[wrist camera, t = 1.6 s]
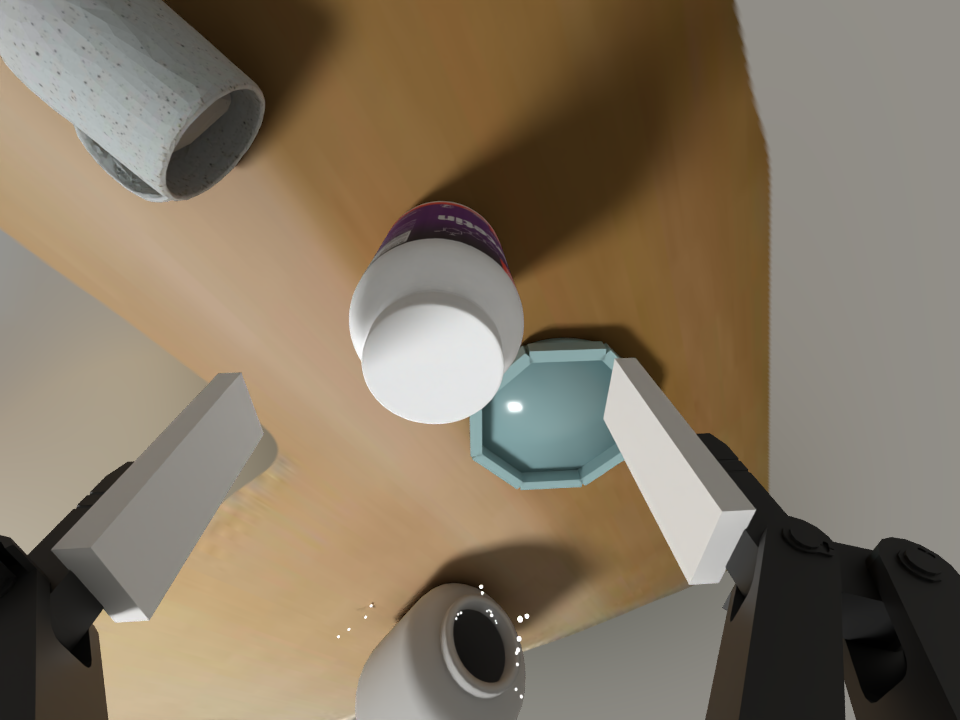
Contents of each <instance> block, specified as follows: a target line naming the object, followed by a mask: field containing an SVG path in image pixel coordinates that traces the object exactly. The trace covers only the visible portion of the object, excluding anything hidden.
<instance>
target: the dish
mask: <svg viewBox="0 0 960 720" xmlns="http://www.w3.org/2000/svg"><path fill="white" fill-rule="evenodd" d="M615 358H621V357H620V356H619V355H618V354H617V353H616V352H614V351H613V350H612V349H611V348H610V347H609V345H608V344H607V343H605V344H603V343H602V341H589V340H585V339H579V338H552V339H546V340H541V341H537V342H534V343H531V344H527V345H525V346H522V347H520V348H519V351H518V353H517V356H516V358H515V359H514V361H513V363H512V364H511V366H510V367H509V368H508V370H507V371H506V372H505V373H504V374H503V379H502V382H501V384H500V387H499V389H498V391H497V392H496V394H495V395H494V397H493V398H492V400H491V401H490V402H489V403H488V404H487V405H486V406H484V407H483V408H482V409H481V410H479V411H478V412H476V413H475V414H473V415H471V416H469V420H470V452H471V457H472V459H473V460H474V461H476V462H477V463H479V464H480V465H482V466H483V467H485V468H486V469H488V470H489V471H491V472H492V473H494V474H495V475H497V476H498V477H500V478H501V479H503V480H504V481H506V482H507V483H509V484H510V485H512V486H513V487H515V488H516V489H518V488H519V487H520V489H521V490H530V489H550V488H569V487H582V483H583V484H584V485H585V486H586V485H587V484H589V483H590V482H592V481H593V480H595V479H596V478H598V477H599V476H601V475H602V474H604V473H605V472H607V471H608V470H610V469H611V468H613V467H614V466H616V465H617V464H619V463H620V462H622V461H623V460H624V458H623V456H622V454H621V452H620V450H619V448H618V446H617V444H616V442H615V440H614V438H613V436H612V435H611V433H610V431H609V429H608V427H607V425H606V423H605V421H604V419H603V418H604V412H605V407H606V402H607V396H608V391H609V386H610V381H611V375H612V370H613V365H614V359H615Z"/></svg>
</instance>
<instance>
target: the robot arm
mask: <svg viewBox="0 0 960 720" xmlns="http://www.w3.org/2000/svg"><path fill="white" fill-rule="evenodd" d="M603 419H604V421H605V423H606V425H607V427H608V429H609V431H610V433H611V435H612V436H613V438H614V440H615V442H616V444H617V446H618V448H619V450H620V452H621V454H622V456H623V458H624V460H625V462H626V464H627V465H628V467H629V469H630V471H631V473H632V475H633V477H634V479H635V481H636V483H637V485H638V487H639V489H640V491H641V492H642V494H643V496H644V498H645V500H646V502H647V504H648V506H649V508H650V510H651V512H652V514H653V516H654V518H655V520H656V521H657V523H658V525H659V527H660V529H661V531H662V533H663V535H664V537H665V539H666V541H667V543H668V545H669V547H670V548H671V550H672V552H673V554H674V556H675V558H676V560H677V562H678V564H679V566H680V568H681V570H682V572H683V574H684V576H685V577H686V579H687V581H688V583H689V585H694V584H709V583H719V581H720V579H721V578H722V575H723V574H724V572H725V570H726V569H727V570H728V572H729V573H730V575H731V577H732V578H733V580H734V582H735V585H734V587H733V589H732V591H731V593H730V595H729V596H728V598H727V600H726V602H725V604H724V606H723V607H722V608H723V609H725V610H728V611H727V616H726V621H725V626H724V631H723V635H722V640H721V645H720V650H719V655H718V660H717V665H716V670H715V675H714V679H713V684H712V689H711V695H710V699H709V704H708V710H707V714H706V719H705V720H845V695H844V681H845V684H846V687H847V690H848V694H849V697H850V700H851V704H852V707H853V711H854V714H855V717H856V720H960V575H959V574H958V573H957V571H956V570H955V569H954V568H953V567H952V566H951V565H950V564H949V563H948V562H946V561H945V560H944V559H942V558H941V557H940V556H939V555H937V554H936V553H934V552H932V551H930V550H929V549H927V548H925V547H923V546H921V545H919V544H916V543H914V542H911V541H908V540H906V539H900V538H893V537H890V538H886V539H882V540H881V541H880V542H879V544H878V545H877V546H876V547H875V549H874V550H869V549H864V548H860V547H855V546H850V545H845V544H841V543H836V542H833V541H832V540H831V539H830V538H829V537H828V536H827V535H826V534H825V533H823V532H822V531H821V530H820V529H818V528H817V527H815V526H813V525H811V524H810V523H808V522H806V521H804V520H801V519H797V518H794V517H790V516H788V515H787V514H786V513H785V512H784V511H783V510H782V509H781V507H780V506H779V505H778V504H777V503H776V502H775V500H774V499H773V498H772V497H771V496H770V495H769V493H768V492H767V491H766V490H765V489H764V488H763V486H762V485H761V484H760V483H759V482H758V481H757V479H756V478H755V477H754V476H753V475H752V474H751V473H749V472H748V469H747V468H746V467H745V466H744V464H743V463H742V462H741V461H739V460H738V457H737V456H736V455H735V454H734V453H733V452H732V451H731V449H730V448H729V447H728V446H727V445H726V444H725V443H723V442H722V441H720V440H719V439H717V438H716V437H714V436H713V435H711V434H710V433H705V434H696V433H695V432H694V431H693V430H692V428H691V427H690V426H689V424H688V423H687V422H686V421H685V419H684V418H683V417H682V416H681V414H680V413H679V412H678V411H677V409H676V408H675V407H674V406H673V404H672V403H671V402H670V401H669V399H668V398H667V397H666V396H665V394H664V393H663V392H662V391H661V389H660V388H659V387H658V385H657V384H656V383H655V382H654V380H653V379H652V378H651V377H650V375H649V374H648V373H647V372H646V370H645V369H644V368H643V367H642V365H641V364H640V363H639V362H638V360H637V359H636V358H615V359H614V365H613V370H612V375H611V381H610V386H609V391H608V396H607V402H606V407H605V412H604V418H603ZM263 434H264V433H263V431H262V428H261V425H260V422H259V419H258V417H257V414H256V411H255V409H254V406H253V403H252V400H251V398H250V395H249V392H248V389H247V387H246V384H245V381H244V379H243V376H242V373H218V374H217V375H216V376H215V377H214V378H213V380H212V381H211V382H210V383H209V384H208V385H207V386H206V387H205V388H204V389H203V390H202V391H201V392H200V393H199V394H198V395H197V396H196V398H195V399H194V400H193V401H192V402H191V403H190V404H189V405H188V406H187V407H186V408H185V409H184V410H183V411H182V412H181V413H180V414H179V415H178V417H176V418H175V420H174V421H173V422H172V423H171V424H170V425H169V426H168V427H167V428H166V429H165V430H164V431H163V432H162V433H161V434H160V435H159V436H158V437H157V439H156V440H155V441H154V442H153V443H152V444H151V445H150V446H149V447H148V448H147V449H146V450H145V451H144V452H143V453H142V454H141V455H140V456H139V457H138V458H137V460H136V461H135V462H127V463H125V464H124V465H122V466H121V467H119V468H118V469H116V470H115V471H113V472H112V473H110V474H109V475H107V476H106V477H105V478H104V479H103V480H102V481H101V482H100V483H99V484H98V485H97V486H96V487H95V488H94V489H93V490H92V491H91V492H90V495H87V496H86V497H85V498H84V499H83V500H82V501H81V502H80V503H79V504H78V505H77V508H76V509H73V510H72V511H71V512H70V513H69V514H68V515H67V516H66V517H65V518H64V519H63V520H62V521H61V522H60V523H59V524H58V525H57V526H56V527H55V528H54V529H53V530H52V531H51V532H50V533H49V534H48V535H47V536H46V537H45V538H44V539H43V540H42V541H41V542H40V543H39V544H38V545H37V546H36V547H35V548H34V549H33V550H32V551H31V552H30V553H29V554H28V555H26V554H25V553H24V551H23V550H22V549H21V548H20V547H19V546H18V545H17V544H16V543H15V542H14V541H13V540H12V539H11V538H9V537H6V536H1V535H0V720H108V713H107V704H106V696H105V687H104V678H103V669H102V660H101V652H100V643H99V634H98V632H97V630H96V628H95V626H94V625H93V622H94V621H95V619H96V618H97V617H98V615H99V614H100V613H101V611H102V610H103V609H104V610H105V611H106V612H107V614H108V615H109V616H110V617H111V618H112V619H113V620H114V621H115V623H117V622H132V621H147V620H150V618H151V617H152V615H153V613H154V612H155V610H156V609H157V607H158V605H159V604H160V602H161V600H162V599H163V597H164V596H165V594H166V592H167V591H168V589H169V587H170V586H171V584H172V582H173V581H174V579H175V578H176V576H177V574H178V573H179V571H180V569H181V568H182V566H183V565H184V563H185V561H186V560H187V558H188V556H189V555H190V553H191V552H192V550H193V548H194V547H195V545H196V543H197V542H198V540H199V539H200V537H201V535H202V534H203V532H204V530H205V529H206V527H207V526H208V524H209V522H210V521H211V519H212V517H213V516H214V514H215V513H216V511H217V509H218V508H219V506H220V504H221V503H222V501H223V499H224V498H225V496H226V495H227V493H228V491H229V490H230V488H231V486H232V485H233V483H234V482H235V480H236V478H237V477H238V475H239V473H240V472H241V470H242V469H243V467H244V465H245V464H246V462H247V460H248V459H249V457H250V455H251V454H252V452H253V451H254V449H255V447H256V446H257V444H258V442H259V441H260V439H261V438H262V436H263Z"/></svg>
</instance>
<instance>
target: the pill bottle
mask: <svg viewBox="0 0 960 720" xmlns="http://www.w3.org/2000/svg"><path fill="white" fill-rule="evenodd" d="M349 327H350V334H351V338H352V342H353V345H354V348H355V350H356V352H357V354H358V356H359V358H360V360H361V361H362V371H363V375H364V379H365V381H366V384H367V386H368V388H369V390H370V391H371V393H372V394H373V395H374V397H375V398H376V399H377V400H378V401H379V402H380V403H381V404H382V405H383V406H384V407H385V408H387V409H388V410H389V411H391V412H393V413H394V414H396V415H398V416H400V417H402V418H405V419H408V420H411V421H414V422H419V423H426V424H444V423H451V422H455V421H459V420H462V419H464V418H467V417H469V416H471V415H473V414H475V413H476V412H478V411H479V410H481V409H482V408H483V407H484V406H486V405H487V404H488V403H489V402H490V401H491V400H492V398H493V397H494V395H495V394H496V392H497V391H498V389H499V387H500V384H501V382H502V379H503V374H504V373H505V372H506V371H507V370H508V368H509V367H510V366H511V364H512V363H513V361H514V359H515V358H516V356H517V353H518V351H519V348H520V345H521V342H522V337H523V330H524V316H523V309H522V304H521V301H520V297H519V294H518V292H517V289H516V286H515V284H514V281H513V278H512V276H511V273H510V270H509V267H508V264H507V262H506V259H505V256H504V253H503V250H502V247H501V244H500V241H499V239H498V237H497V235H496V233H495V231H494V230H493V228H492V227H491V225H490V224H489V223H488V222H487V221H486V220H485V219H484V218H483V217H482V216H481V215H480V214H478V213H477V212H476V211H474V210H472V209H471V208H469V207H467V206H464V205H462V204H459V203H455V202H449V201H434V202H428V203H424V204H421V205H418V206H416V207H414V208H412V209H411V210H409V211H407V212H406V213H405V214H404V215H402V216H401V217H400V218H399V219H398V220H397V222H396V223H395V224H394V225H393V227H392V228H391V229H390V231H389V233H388V235H387V237H386V238H385V240H384V241H383V243H382V245H381V247H380V248H379V250H378V251H377V253H376V255H375V257H374V258H373V260H372V262H371V263H370V265H369V266H368V268H367V270H366V271H365V273H364V274H363V276H362V278H361V280H360V281H359V283H358V285H357V287H356V289H355V292H354V294H353V297H352V301H351V305H350V312H349Z"/></svg>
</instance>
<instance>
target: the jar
mask: <svg viewBox="0 0 960 720" xmlns="http://www.w3.org/2000/svg"><path fill="white" fill-rule="evenodd" d="M479 588H480V589H482V588H483V585H480V586H479ZM370 607H372V604H371V605H370ZM364 618H367V616H365V617H364ZM525 618H526V619H528V618H529V614H525ZM517 620H518V622H522V621H523V618H522V616H518V618H517ZM348 631H350V628H348ZM339 637H340V636H339V635H338V636H337V638H339ZM520 641H521V637H520V636H518V635H517V632H516V630H515V627H514V625H513V623H512V621H511V619H510V618H509V616H508V615H507V613H506V612H505V611H504V610H503V609H502V607H501V606H500V605H499V604H497V603H496V602H495V600H493V599H492V598H491V597H490V596H488V595H487V594H486V593H484V592H483V591H481V590H479V589H477V588H475V587H472V586H469V585H465V584H459V583H449V584H443V585H440V586H438V587H435V588H433V589H432V590H431V591H429V592H428V593H427V594H425V595H424V596H423V597H421V598H420V599H419V600H418V601H417V602H416V604H415V605H414V606H413V607H412V608H411V609H410V610H409V611H408V612H407V613H406V614H405V616H404V617H403V618H402V619H401V620H400V621H399V622H398V623H397V624H396V625H395V626H394V628H393V629H392V630H391V631H390V632H389V633H388V634H387V635H386V636H385V637H384V638H383V640H382V641H381V642H380V643H379V644H378V645H377V646H376V648H375V649H374V650H373V651H372V653H371V655H370V657H369V658H368V660H367V662H366V663H365V665H364V667H363V670H362V673H361V676H360V678H359V682H358V687H357V692H356V705H355V713H356V720H517V717H518V715H519V712H520V710H521V707H522V703H523V698H524V693H525V663H524V656H523V652H522V648H521V644H520Z"/></svg>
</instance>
